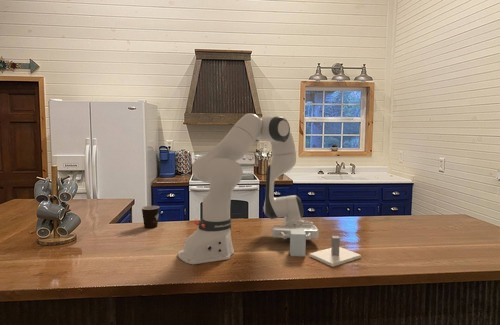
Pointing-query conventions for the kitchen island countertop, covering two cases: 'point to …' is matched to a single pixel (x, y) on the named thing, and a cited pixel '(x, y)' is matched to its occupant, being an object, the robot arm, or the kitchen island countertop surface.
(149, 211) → the coffee mug
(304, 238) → the tall grey rectangular prism
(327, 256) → the post board
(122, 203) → the kitchen island countertop surface
